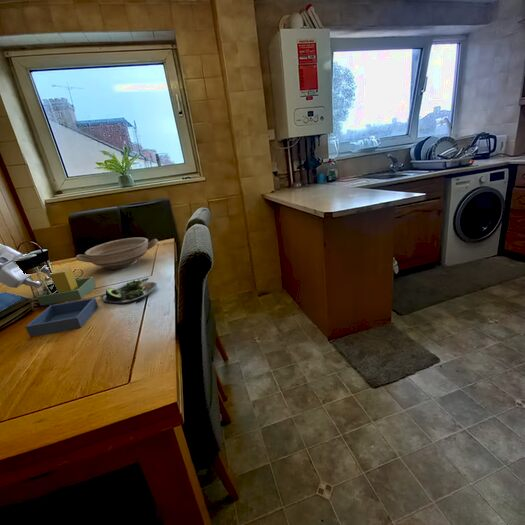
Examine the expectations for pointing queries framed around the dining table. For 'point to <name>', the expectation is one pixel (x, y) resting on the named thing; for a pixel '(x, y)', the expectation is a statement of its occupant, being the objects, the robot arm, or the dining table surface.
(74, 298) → the green bin
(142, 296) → the salad plate
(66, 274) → the yellow box
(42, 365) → the dining table surface
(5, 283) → the robot arm
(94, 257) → the ceramic bowl
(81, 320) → the blue bin
